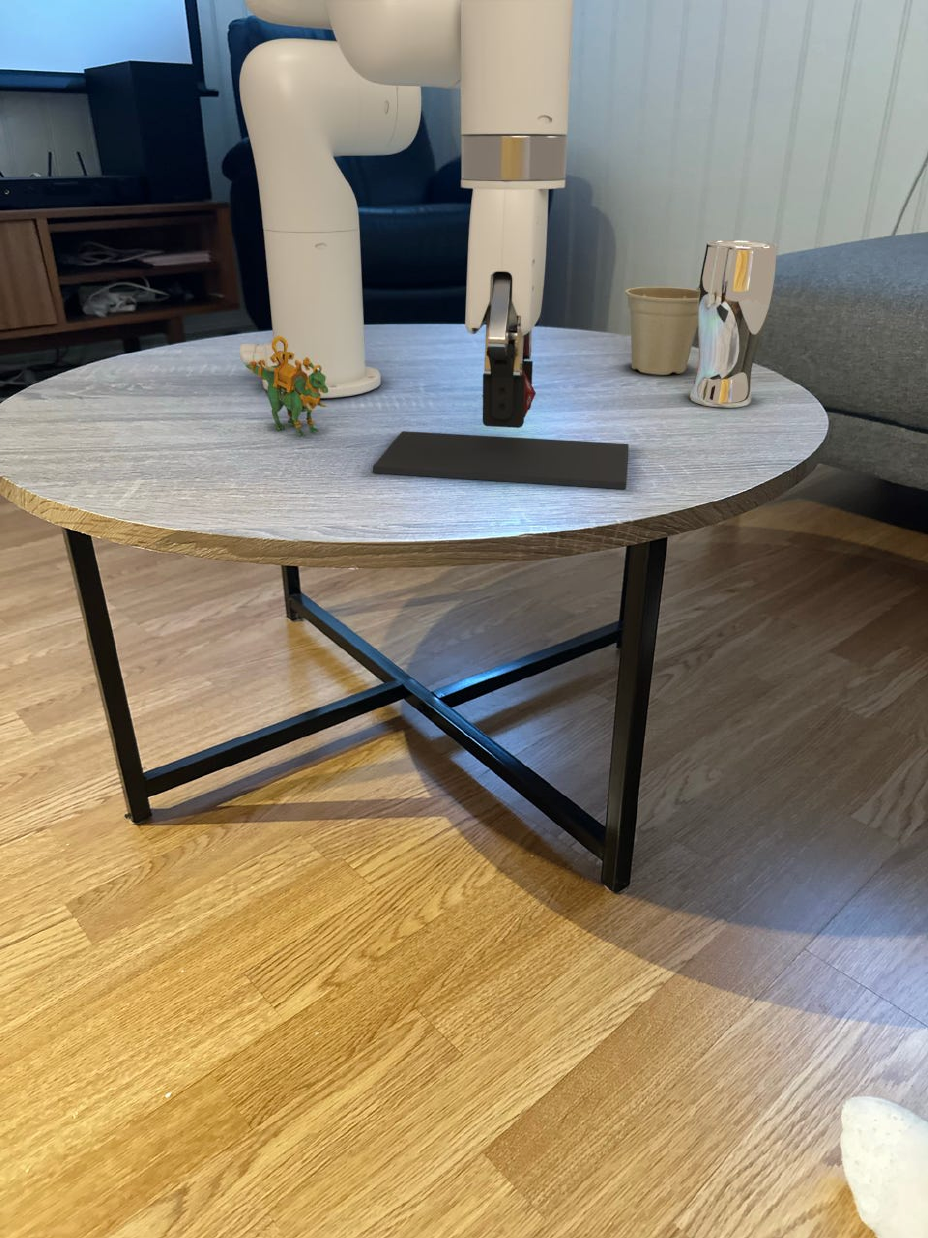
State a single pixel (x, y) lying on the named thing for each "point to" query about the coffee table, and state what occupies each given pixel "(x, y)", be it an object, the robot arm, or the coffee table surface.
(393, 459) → the mat
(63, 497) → the coffee table surface
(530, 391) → the dice
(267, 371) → the figurine
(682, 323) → the flower pot
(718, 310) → the beer glass
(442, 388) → the coffee table surface
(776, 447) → the coffee table surface
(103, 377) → the coffee table surface
